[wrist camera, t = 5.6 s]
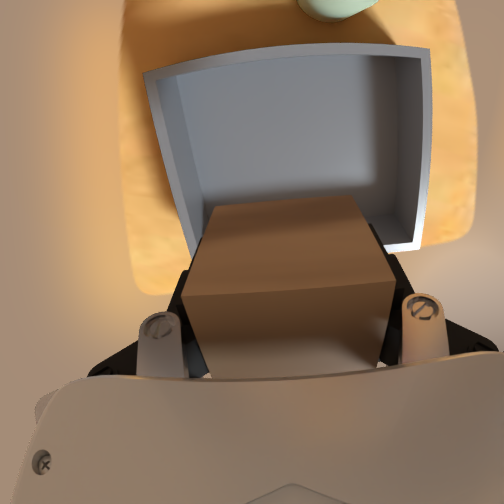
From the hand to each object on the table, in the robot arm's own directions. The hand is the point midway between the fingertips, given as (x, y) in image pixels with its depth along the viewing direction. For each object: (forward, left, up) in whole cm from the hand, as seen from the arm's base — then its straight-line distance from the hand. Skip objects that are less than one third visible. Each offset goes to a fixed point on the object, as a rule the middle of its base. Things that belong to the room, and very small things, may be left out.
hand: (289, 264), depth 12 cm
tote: (0, +2, -17) cm, 17 cm away
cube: (0, 0, -1) cm, 1 cm away
